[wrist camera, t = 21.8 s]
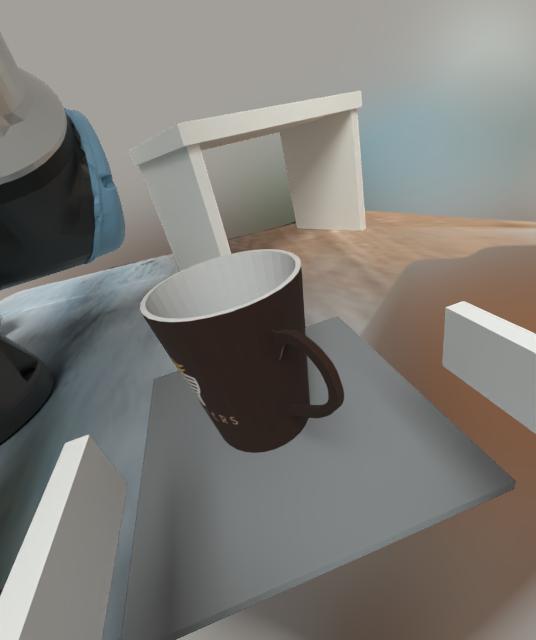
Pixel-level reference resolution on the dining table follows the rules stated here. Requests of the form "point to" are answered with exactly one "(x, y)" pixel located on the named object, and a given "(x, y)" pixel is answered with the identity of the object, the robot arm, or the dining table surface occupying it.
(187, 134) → the shelf stand
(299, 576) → the placemat
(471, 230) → the dining table surface
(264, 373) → the coffee mug
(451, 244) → the dining table surface
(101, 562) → the robot arm
